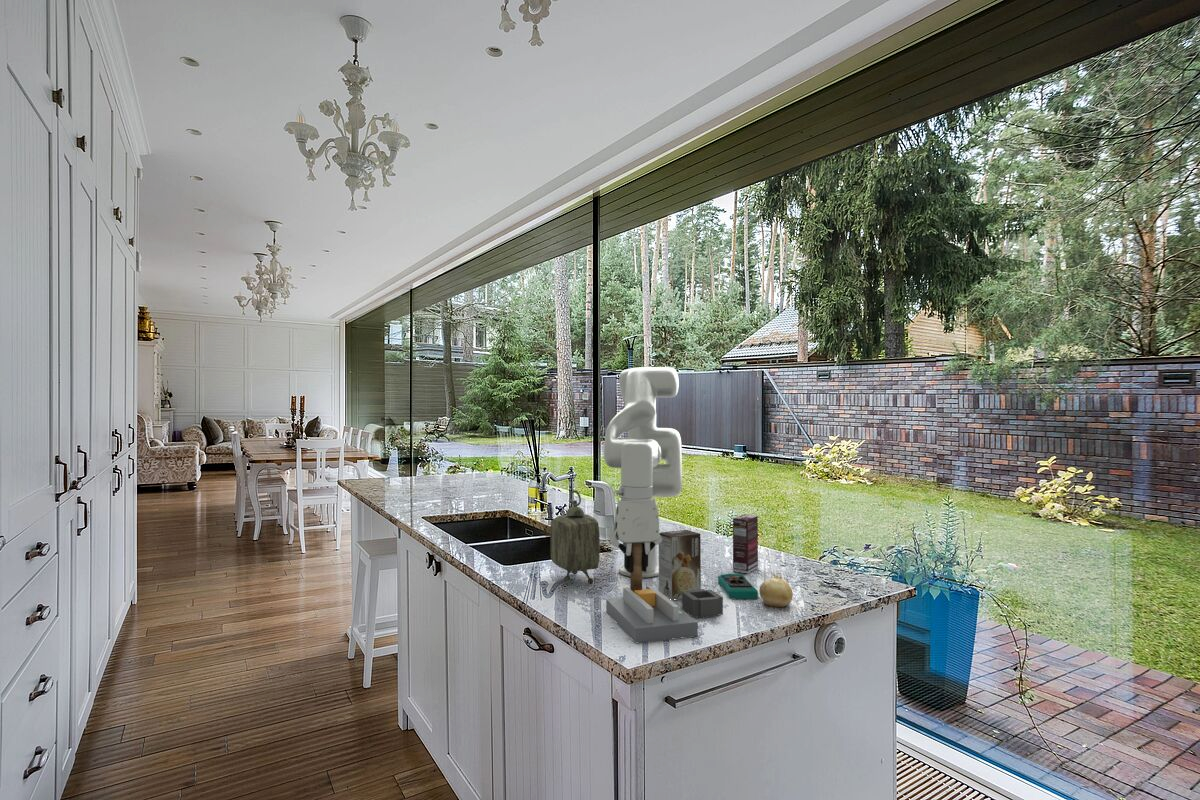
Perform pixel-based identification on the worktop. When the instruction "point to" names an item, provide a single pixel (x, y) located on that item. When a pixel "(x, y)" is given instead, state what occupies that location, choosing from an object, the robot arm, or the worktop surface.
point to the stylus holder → (702, 603)
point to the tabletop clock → (575, 541)
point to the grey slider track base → (650, 617)
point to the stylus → (636, 567)
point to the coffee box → (679, 563)
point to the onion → (776, 592)
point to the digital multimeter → (737, 586)
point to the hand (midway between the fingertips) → (636, 570)
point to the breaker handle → (646, 596)
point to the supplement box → (745, 543)
